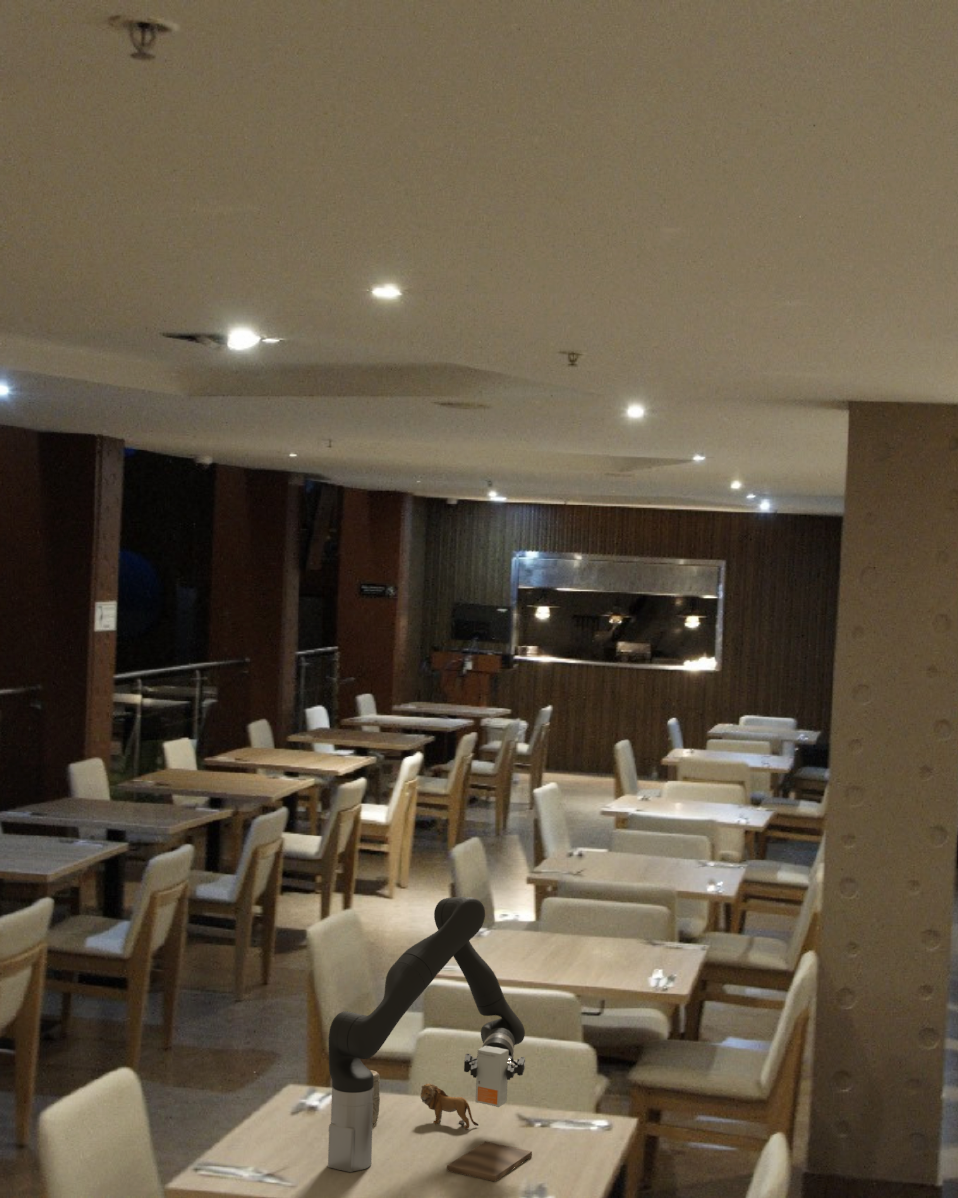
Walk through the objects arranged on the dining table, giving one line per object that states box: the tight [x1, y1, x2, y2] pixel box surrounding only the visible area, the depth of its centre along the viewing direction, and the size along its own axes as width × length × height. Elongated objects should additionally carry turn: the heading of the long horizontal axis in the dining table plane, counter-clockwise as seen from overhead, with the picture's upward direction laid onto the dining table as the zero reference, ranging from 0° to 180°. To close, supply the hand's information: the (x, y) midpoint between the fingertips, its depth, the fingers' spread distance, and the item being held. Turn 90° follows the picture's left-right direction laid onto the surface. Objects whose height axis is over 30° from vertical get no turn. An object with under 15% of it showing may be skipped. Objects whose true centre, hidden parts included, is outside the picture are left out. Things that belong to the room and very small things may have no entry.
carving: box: [369, 1069, 381, 1125], centre depth 375 cm, size 6×8×12 cm
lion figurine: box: [420, 1083, 479, 1130], centre depth 376 cm, size 15×5×9 cm, turn 74°
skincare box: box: [475, 1046, 509, 1108], centre depth 350 cm, size 6×4×12 cm
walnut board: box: [446, 1141, 533, 1183], centre depth 350 cm, size 18×12×1 cm, turn 152°
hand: (491, 1074), depth 348 cm, fingers closed on skincare box, 7 cm apart
